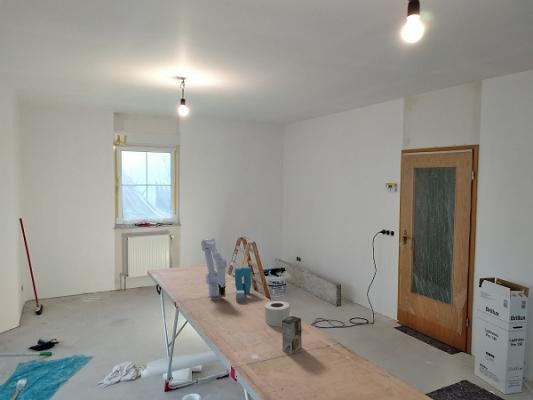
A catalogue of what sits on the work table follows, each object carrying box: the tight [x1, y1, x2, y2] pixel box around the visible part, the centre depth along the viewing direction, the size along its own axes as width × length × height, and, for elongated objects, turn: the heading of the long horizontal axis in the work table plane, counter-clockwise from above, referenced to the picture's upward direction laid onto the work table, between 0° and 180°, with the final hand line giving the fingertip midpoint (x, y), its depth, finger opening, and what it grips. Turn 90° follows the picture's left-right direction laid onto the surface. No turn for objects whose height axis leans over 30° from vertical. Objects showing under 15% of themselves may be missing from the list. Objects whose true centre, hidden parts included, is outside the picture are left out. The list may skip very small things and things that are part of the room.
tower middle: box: [235, 290, 245, 299], centre depth 286 cm, size 6×6×4 cm
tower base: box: [235, 296, 246, 303], centre depth 286 cm, size 6×6×4 cm
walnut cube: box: [218, 288, 226, 298], centre depth 288 cm, size 5×5×5 cm
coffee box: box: [281, 315, 303, 354], centre depth 203 cm, size 9×6×16 cm
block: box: [234, 266, 252, 295], centre depth 304 cm, size 12×5×20 cm, turn 114°
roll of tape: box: [264, 300, 291, 327], centre depth 243 cm, size 16×15×11 cm
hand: (221, 294), depth 288 cm, fingers closed on walnut cube, 5 cm apart
